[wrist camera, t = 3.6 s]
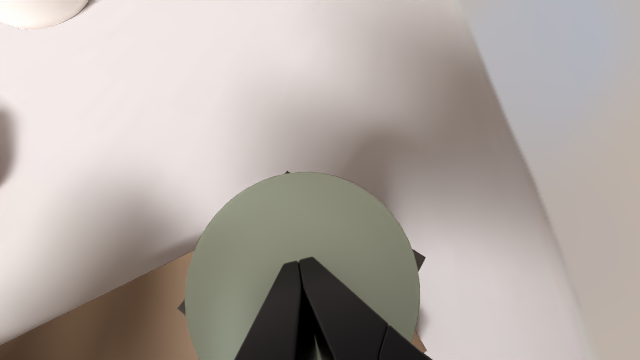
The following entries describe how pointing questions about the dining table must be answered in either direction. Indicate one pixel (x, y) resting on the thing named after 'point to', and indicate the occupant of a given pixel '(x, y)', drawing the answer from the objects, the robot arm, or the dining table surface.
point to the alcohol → (38, 12)
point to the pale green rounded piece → (296, 256)
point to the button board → (125, 323)
